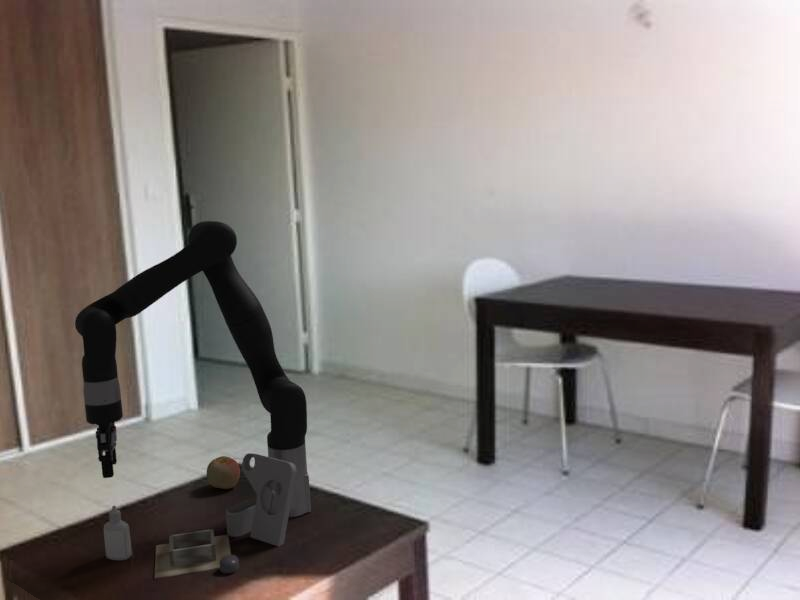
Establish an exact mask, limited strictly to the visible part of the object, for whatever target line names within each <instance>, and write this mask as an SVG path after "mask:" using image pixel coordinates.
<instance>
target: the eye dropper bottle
mask: <svg viewBox="0 0 800 600" xmlns="http://www.w3.org/2000/svg"><path fill="white" fill-rule="evenodd" d="M108 516H109V521H108V522H106V523H105V524H104V526H103V538H104V547H105V548H104V549H105V556H106V558H107V559H109V560H111V561H126V560H128V559H130V558H131V557H132V556H133V552H132V551H133V550H132V543H131V534H130V526H129V524H128V523H127V522H126V521H124V520H122V514H121V510H119V509H118V508H117V506H116V505H112V508H111V510H110V511H109V512H108Z"/></svg>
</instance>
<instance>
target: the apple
mask: <svg viewBox="0 0 800 600" xmlns="http://www.w3.org/2000/svg"><path fill="white" fill-rule="evenodd" d="M240 469H241V468H240V465H239V463H238V461H236V459H234V458H231V456H227V455H226V456H223V455H222V456H219V457H216V458H214V459H212V460H211V461H210V462H209V464H208V465H207V467H206V479H207V481H208V484H209V485H210V486H211V487H214V488H217V489H223V490H224V489H225V490H226V489H232V488H234V487H235V486H236V485H237V484H238V482H239V480H240V475H241V470H240Z"/></svg>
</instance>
